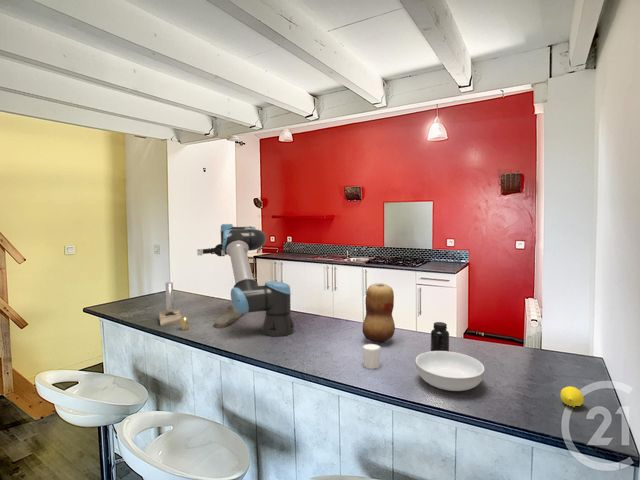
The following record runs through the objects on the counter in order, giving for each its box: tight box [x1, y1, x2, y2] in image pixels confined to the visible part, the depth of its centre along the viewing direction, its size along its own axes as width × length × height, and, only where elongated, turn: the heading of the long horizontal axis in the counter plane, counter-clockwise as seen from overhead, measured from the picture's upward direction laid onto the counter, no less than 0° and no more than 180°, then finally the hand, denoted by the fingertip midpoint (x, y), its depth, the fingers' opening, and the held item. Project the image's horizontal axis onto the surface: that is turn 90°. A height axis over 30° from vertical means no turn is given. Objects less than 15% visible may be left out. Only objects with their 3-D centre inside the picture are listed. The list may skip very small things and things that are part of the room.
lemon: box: [560, 385, 585, 408], centre depth 102 cm, size 7×5×5 cm
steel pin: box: [165, 281, 175, 316], centre depth 190 cm, size 4×4×20 cm
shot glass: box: [361, 343, 382, 370], centre depth 131 cm, size 7×7×7 cm
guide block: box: [158, 309, 183, 327], centre depth 190 cm, size 14×10×4 cm
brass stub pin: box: [180, 315, 189, 332], centre depth 175 cm, size 4×4×6 cm
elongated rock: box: [213, 305, 245, 329], centre depth 194 cm, size 35×5×10 cm
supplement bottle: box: [430, 321, 450, 352], centre depth 141 cm, size 7×7×12 cm
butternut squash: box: [362, 282, 396, 344], centre depth 155 cm, size 14×13×25 cm
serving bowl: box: [414, 350, 485, 392], centre depth 117 cm, size 21×21×7 cm
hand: (210, 252), depth 201 cm, fingers open, 13 cm apart
